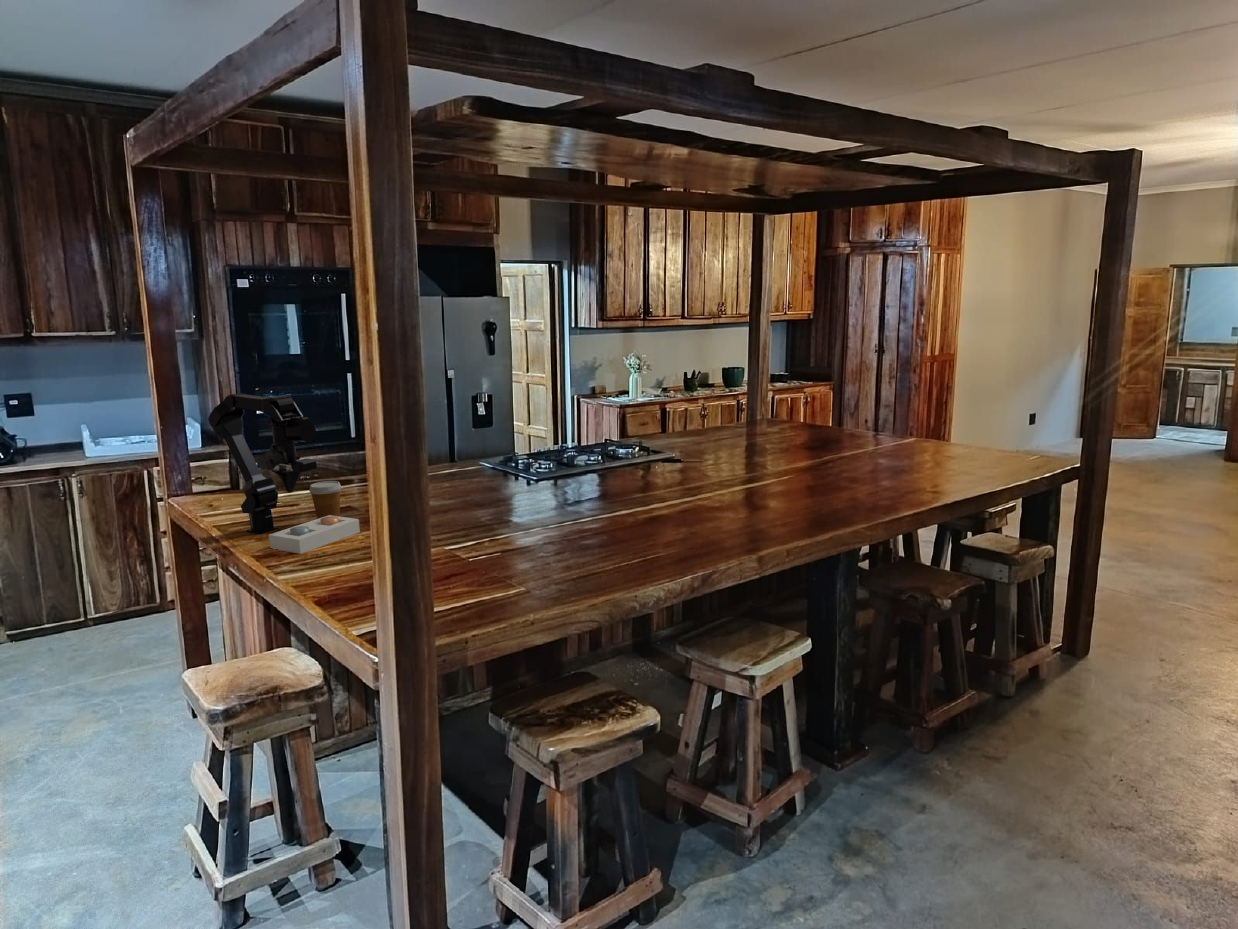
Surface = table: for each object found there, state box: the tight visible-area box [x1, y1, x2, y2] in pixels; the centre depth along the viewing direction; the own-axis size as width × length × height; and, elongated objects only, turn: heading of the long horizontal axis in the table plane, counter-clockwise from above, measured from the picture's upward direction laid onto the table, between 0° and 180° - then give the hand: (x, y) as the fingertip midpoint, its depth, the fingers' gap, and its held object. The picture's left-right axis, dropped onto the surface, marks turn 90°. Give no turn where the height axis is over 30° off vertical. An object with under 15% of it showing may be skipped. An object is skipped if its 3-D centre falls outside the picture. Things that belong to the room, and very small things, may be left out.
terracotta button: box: [320, 516, 339, 526], centre depth 245 cm, size 5×5×3 cm
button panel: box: [268, 515, 361, 555], centre depth 241 cm, size 12×22×4 cm, turn 152°
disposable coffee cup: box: [309, 480, 343, 519], centre depth 259 cm, size 10×10×12 cm
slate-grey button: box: [290, 526, 309, 536], centre depth 235 cm, size 5×5×3 cm
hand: (290, 492), depth 244 cm, fingers closed
